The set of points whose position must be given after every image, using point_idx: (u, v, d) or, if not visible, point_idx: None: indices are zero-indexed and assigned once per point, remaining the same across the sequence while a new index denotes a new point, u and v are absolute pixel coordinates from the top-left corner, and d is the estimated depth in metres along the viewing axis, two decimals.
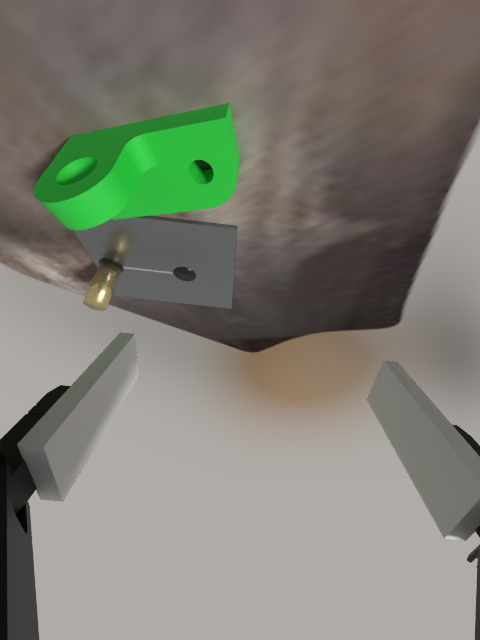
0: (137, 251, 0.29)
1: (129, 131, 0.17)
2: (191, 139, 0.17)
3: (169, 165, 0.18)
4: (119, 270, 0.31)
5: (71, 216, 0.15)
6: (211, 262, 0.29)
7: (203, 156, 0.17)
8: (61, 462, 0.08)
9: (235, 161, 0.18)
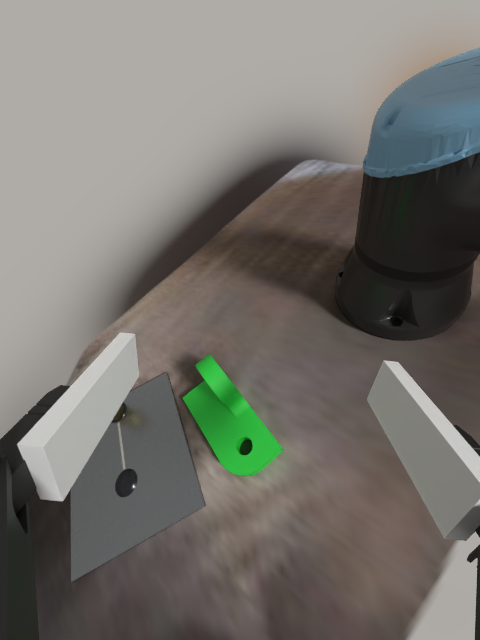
0: (143, 429, 0.33)
1: None
2: (260, 432, 0.28)
3: (239, 424, 0.29)
4: (115, 419, 0.34)
5: (209, 369, 0.27)
6: (153, 502, 0.28)
7: (254, 443, 0.27)
8: (61, 462, 0.08)
9: (261, 466, 0.26)
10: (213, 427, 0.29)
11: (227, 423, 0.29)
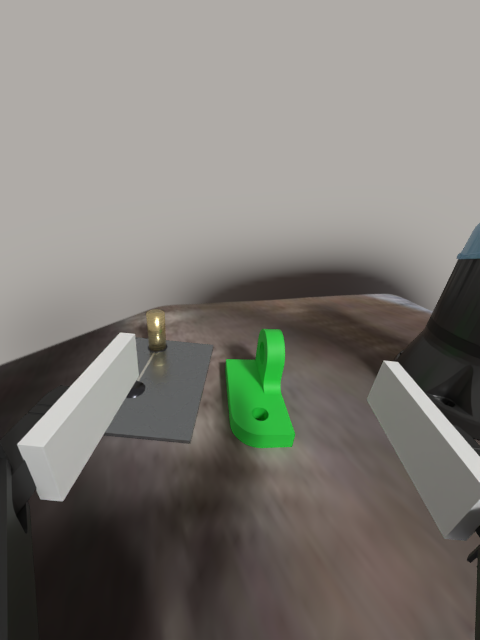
0: (171, 366, 0.34)
1: None
2: (280, 414, 0.27)
3: (264, 398, 0.29)
4: (154, 348, 0.37)
5: (273, 332, 0.30)
6: (145, 413, 0.27)
7: (271, 417, 0.26)
8: (61, 462, 0.08)
9: (267, 436, 0.25)
10: (240, 388, 0.30)
11: (254, 392, 0.29)
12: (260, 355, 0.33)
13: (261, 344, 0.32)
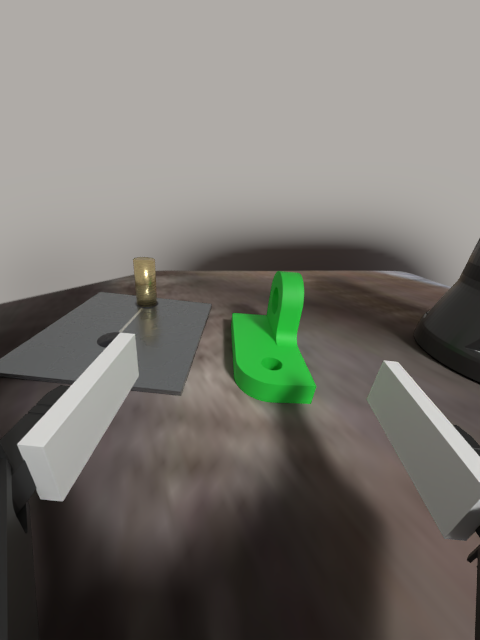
0: (162, 320, 0.29)
1: None
2: (297, 365, 0.22)
3: (276, 350, 0.24)
4: (143, 302, 0.32)
5: (290, 273, 0.25)
6: None
7: (285, 368, 0.21)
8: (61, 462, 0.08)
9: (281, 386, 0.19)
10: (247, 338, 0.25)
11: (264, 343, 0.24)
12: (273, 306, 0.28)
13: (274, 292, 0.27)
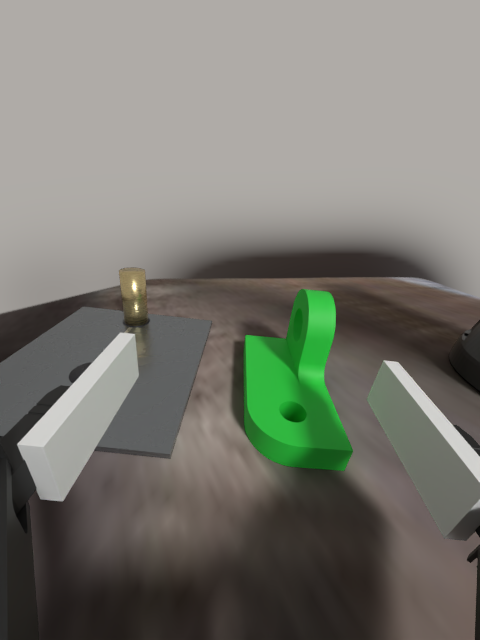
0: (152, 344, 0.24)
1: None
2: (326, 415, 0.17)
3: (298, 390, 0.19)
4: (131, 321, 0.27)
5: (318, 293, 0.20)
6: None
7: (310, 419, 0.16)
8: (61, 462, 0.08)
9: (305, 449, 0.15)
10: (262, 372, 0.20)
11: (283, 380, 0.20)
12: (294, 330, 0.23)
13: (297, 313, 0.22)
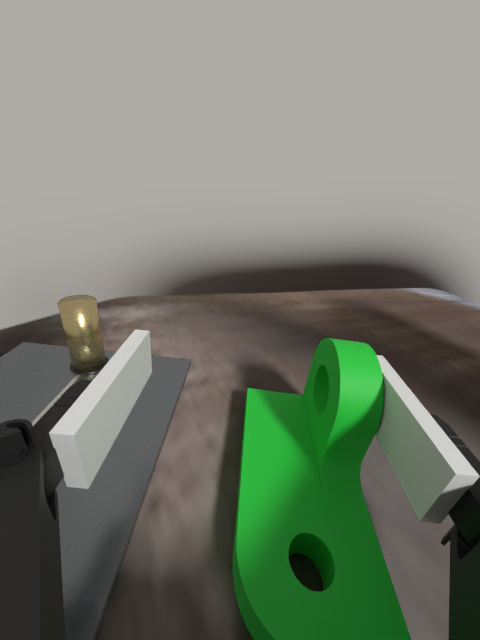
0: None
1: None
2: (368, 571, 0.10)
3: (321, 504, 0.12)
4: (80, 366, 0.20)
5: (354, 348, 0.13)
6: None
7: (341, 581, 0.10)
8: (88, 451, 0.09)
9: None
10: (266, 463, 0.14)
11: (297, 480, 0.13)
12: (315, 391, 0.16)
13: (320, 369, 0.16)
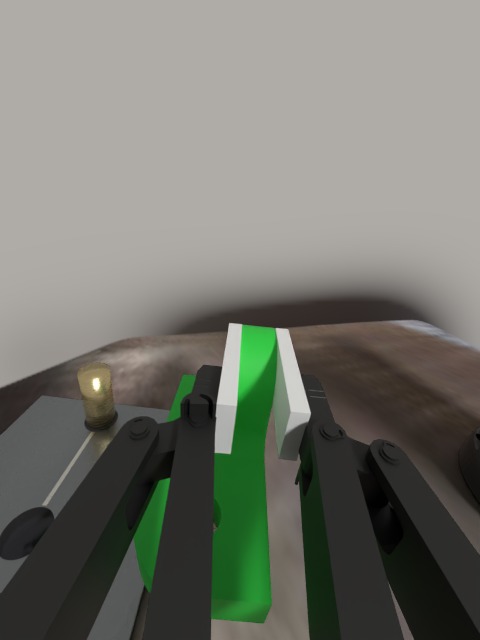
0: None
1: None
2: (249, 522, 0.12)
3: (223, 471, 0.13)
4: (94, 424, 0.23)
5: (259, 333, 0.15)
6: None
7: (223, 531, 0.11)
8: None
9: None
10: None
11: None
12: None
13: None
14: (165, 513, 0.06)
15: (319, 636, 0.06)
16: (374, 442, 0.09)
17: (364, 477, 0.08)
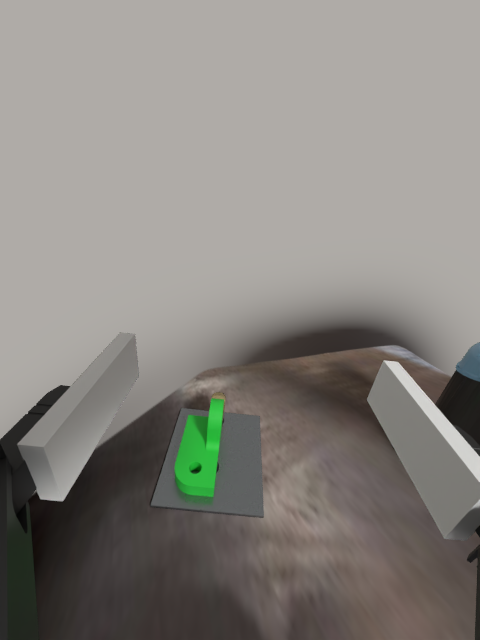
0: (232, 441, 0.44)
1: None
2: (210, 469, 0.37)
3: (203, 454, 0.39)
4: None
5: (216, 404, 0.40)
6: (225, 491, 0.36)
7: (202, 471, 0.36)
8: (61, 462, 0.08)
9: (194, 487, 0.35)
10: (189, 443, 0.40)
11: (198, 448, 0.40)
12: None
13: None
14: None
15: None
16: None
17: None
